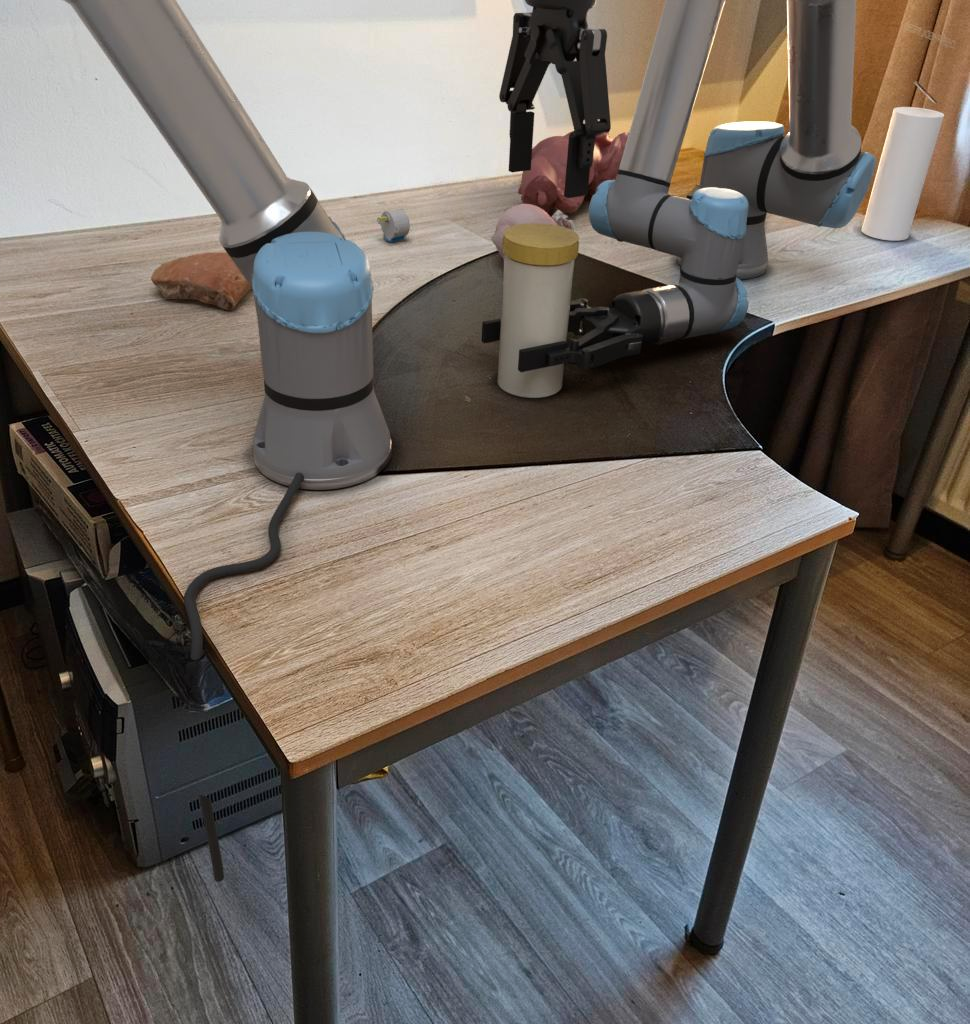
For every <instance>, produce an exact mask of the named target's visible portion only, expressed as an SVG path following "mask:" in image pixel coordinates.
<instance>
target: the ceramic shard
mask: <svg viewBox="0 0 970 1024" xmlns="http://www.w3.org/2000/svg"><path fill="white" fill-rule="evenodd" d="M150 280H151V282H152V284H153V285H154V286H155V287H156V288H157V289H159V292H160V293H161V295H162V297H163V298H165V299H166V300H172V299H174V300H177V299H178V300H197V301H200V302H202V303H203V304H209V305H214V306H217V307H218V308H220V309H223V310H226V311H230V310H233V309H234V308H235V307H236V305H237V304H238V303H239V301H240V300H241V299H242V298H243V297H244V295H246V294H247V293H248V292H249V291H250V290H251V289H252V288H251V286H250V285H249V283H248V282H247V280H246V279H245V277H244V276H243V274H242V273H241V272H240V270H239V269H238V267H237V266H236V265H235V263H234V262H233V260H232V259H231V258H230V256H229V255H228V253H227V252H203V253H197V254H191V255H189V256H185V257H179V258H176V259H172V260H169V261H167V262H164V263H161V264H160V266H158V267H157V268H155V269H154V270H153V272H152V275H151V277H150Z"/></svg>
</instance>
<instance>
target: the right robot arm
mask: <svg viewBox="0 0 970 1024" xmlns="http://www.w3.org/2000/svg"><path fill="white" fill-rule="evenodd" d="M725 3H726V0H665V2H664V4H663V5H664V6H663V8H662V11H661V16H660V20H659V22H658V26H657V30H656V33H655V37H654V41H653V45H652V47H651V52H650V56H649V59H648V63H647V66H646V70H645V74H644V77H643V81H642V85H641V87H640V91H639V95H638V98H637V103H636V106H635V110H634V113H633V117H632V121H631V124H630V128H629V131H628V133H629V135H628V138H627V142H626V146H625V149H624V153H623V156H622V160H621V164H620V167H619V170H618V174H617V177H616V180H607V181H604V182H602V183H601V184H600V185H599V186H598V187H597V189H596V193H595V194H594V195H591V196H592V197H591V199H590V202H589V208H588V219H589V223H590V226H591V227H592V229H593V230H594V231H595V232H596V233H598V235H602V236H605V237H608V238H610V239H614V240H616V241H617V242H618V243H619V242H620V243H624V242H625V243H628V244H632V245H635V246H639V247H643V248H647V249H651V250H654V251H657V252H660V253H663V254H667V255H670V256H675V257H676V261H677V263H678V264H679V266H680V270H679V280H678V282H677V283H674V284H667V285H661V286H657V287H652V288H651V287H650V288H646V289H643V290H635V291H631V292H624V293H620V294H618V295H617V296H615V297H614V299H613V300H612V301H611V302H610V303H609V305H608V306H595V307H591V306H588V301H589V300H588V299H587V298H579V299H574V300H571V302H570V312H569V322H568V332H567V333H573V334H574V336H577V337H579V338H577V339H576V338H572V337H570V338H569V346H568V342H565V341H561V342H555V343H550V344H545V345H540V346H535V347H530V348H525V349H520V350H519V360H518V371H520V372H526V371H530V370H535V369H540V368H545V367H549V366H555V365H560V364H564V365H565V364H568V365H571V366H576V365H579V367H580V368H579V369H581V370H582V371H588V370H591V369H594V368H597V367H599V366H602V365H605V364H608V363H611V362H613V361H617V360H619V359H621V358H624V357H627V356H635V355H640V354H641V350H642V349H643V348H647V347H651V346H661V345H663V344H665V343H669V342H673V341H679V340H685V339H690V338H694V337H700V336H704V335H714V334H718V333H720V332H724V331H728V330H729V329H730V330H731V329H732V328H735V327H737V326H739V325H740V324H741V323H742V322H743V320H744V319H745V318H746V315H747V313H748V311H749V302H750V301H748V296H747V295H748V290H747V287H746V286H745V284H744V283H743V281H742V280H748V279H754V278H757V277H760V276H762V275H764V274H765V273H766V271H767V267H768V264H769V263H768V262H769V253H768V244H767V243H768V242H767V236H766V234H767V233H766V227H765V225H766V224H765V223H766V219H767V214H770V215H774V216H777V217H782V218H785V219H788V220H793V221H796V222H800V223H805V224H808V225H813V226H815V227H816V226H817V227H819V228H821V227H824V228H830V229H834V230H835V229H841V228H844V227H846V226H847V225H848V224H849V223H850V222H851V221H852V220H853V219H854V217H855V216H856V214H857V212H858V210H859V209H860V207H861V205H862V203H863V201H864V199H865V197H866V196H867V195H866V194H867V192H868V191H869V187H870V186H871V183H872V179H873V177H874V173H875V170H876V164H877V163H876V162H877V159H876V157H875V155H873V154H872V153H870V152H869V151H867V150H866V151H864V152H863V151H862V137H861V134H860V132H859V130H858V129H857V128H856V127H855V126H854V125H852V118H853V117H852V115H853V95H854V69H855V68H854V67H855V47H856V25H857V24H856V23H857V22H856V20H857V0H786V13H787V14H786V18H787V20H786V21H787V22H786V23H787V60H788V61H787V62H788V63H787V64H788V65H787V66H788V67H787V68H788V108H789V109H788V111H789V113H788V114H789V132H788V133H787V134H786V130H785V126H784V125H783V124H782V123H778V122H774V121H765V120H763V121H761V120H759V121H758V120H756V121H755V120H753V121H752V120H751V121H749V120H748V121H734V122H727V123H723V124H720V125H717V126H715V127H714V128H713V129H712V130H711V131H710V132H709V134H708V137H707V142H706V146H705V151H704V153H703V161H702V168H701V175H700V180H699V184H700V186H699V190H697V191H696V192H695V193H694V194H693V196H692V199H691V200H690V199H686V197H681V196H677V195H673V194H669V191H670V186H671V182H672V179H673V175H674V172H675V169H676V165H677V163H678V159H679V156H680V152H681V150H682V146H683V143H684V139H685V136H686V132H687V130H688V126H689V123H690V120H691V116H692V113H693V109H694V106H695V102H696V99H697V96H698V93H699V89H700V86H701V83H702V80H703V76H704V72H705V70H706V66H707V63H708V60H709V58H710V57H709V56H710V53H711V50H712V46H713V44H714V40H715V37H716V33H717V30H718V27H719V23H720V20H721V17H722V14H723V10H724V7H725ZM785 134H786V135H785ZM500 325H501V317H500V318H495V319H490V320H489V319H488V320H484V321H482V322H481V341H480V342H481V343H483V344H488V343H494V342H500Z"/></svg>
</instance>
